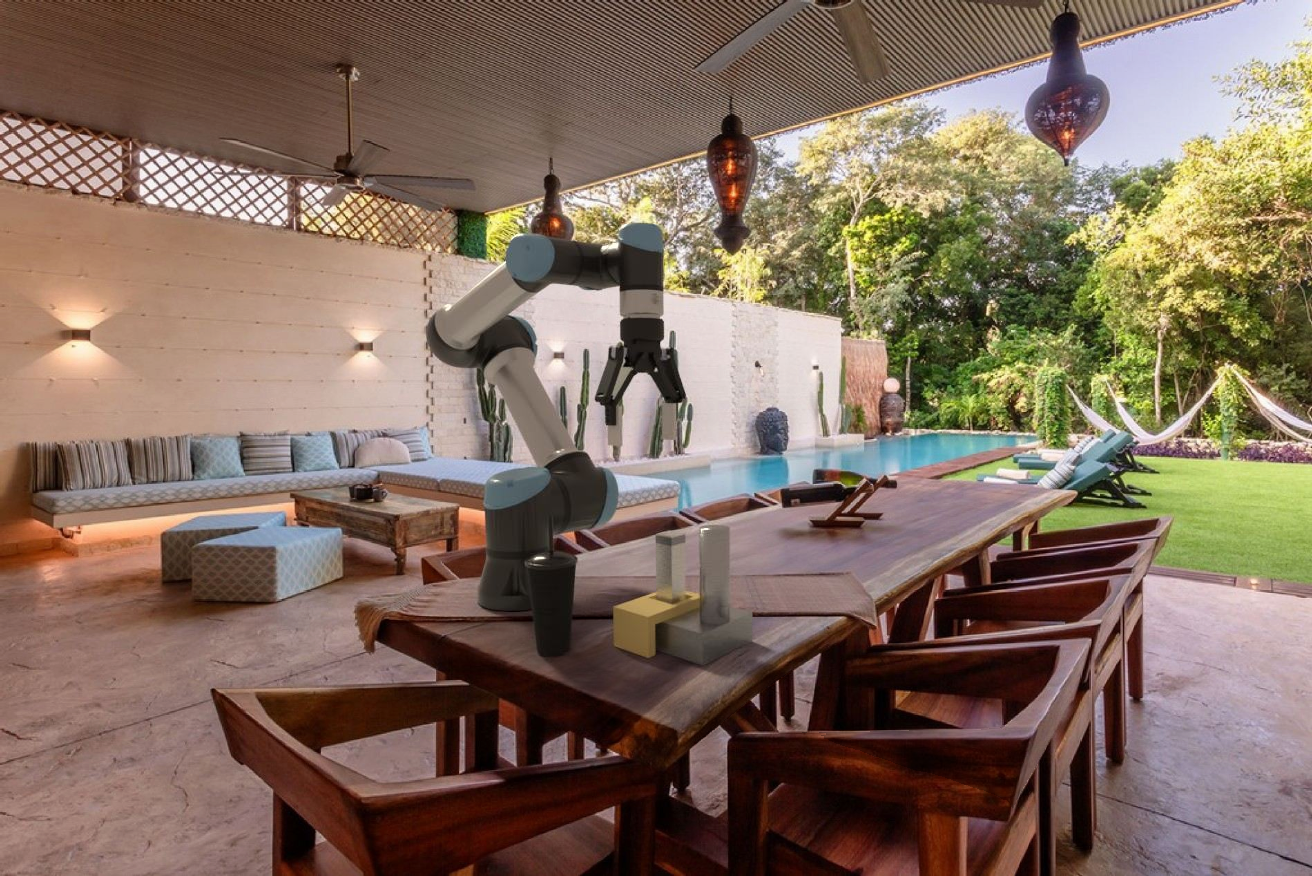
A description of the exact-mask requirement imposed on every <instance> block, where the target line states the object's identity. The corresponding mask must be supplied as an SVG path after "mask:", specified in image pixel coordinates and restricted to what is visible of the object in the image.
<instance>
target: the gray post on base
mask: <svg viewBox="0 0 1312 876" xmlns="http://www.w3.org/2000/svg"><path fill="white" fill-rule="evenodd" d="M698 531H699V532H698V533H699V534H698V535H699V536H698V537H699V539H698V541H699V543H698V545H699V546H698V547H699V550H698V551H699V552H698V553H699V556H698V557H699V558H698V559H699V572H698V573H699V594H700V607H699V608H696V609H694V610H691V611H688V612H686V613H683V614H681V615H678V616H676V617H673V618H671V619H668V620H665V621H663V622H660V623H658V624H655V651H659V652H661V653H664V654H666V655H667V654H668V655H670V656H673V657H677V658H679V659H682V660H685V661H689V662H692V663H694V664H698V665H700V666H704V665H705V666H706V665H707V664H709V663H711V662H714V661H715V660H717V659H719V658H721V657H724V656H725V655H727V654H729V653H731V652H734V651H735V650H738V649H739V648H741V647H743V646H745V645H747V644H749V643H752V642H753V611H749V610H746V609H742V608H738V607H734V606H730V605H731V604H730V603H731V598H730V597H731V594H730V593H731V582H730V581H731V579H730V577H731V573H730V572H731V566H730V563H731V562H730V561H731V553H730V552H731V547H730V544H731V543H730V542H731V541H730V539H731V537H730V536H731V535H730V534H731V530H730V526H727V525H722V524H706V525H701V526H699V527H698Z"/></svg>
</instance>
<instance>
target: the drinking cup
mask: <svg viewBox="0 0 1312 876" xmlns="http://www.w3.org/2000/svg"><path fill="white" fill-rule="evenodd" d="M548 536H549V550H547V551H542V552H539V553H537V554H535V555H533V556H531V557H529V558H527V559H526V560H525V566H527V571H528V580H529V588H530V596H531V605H532V609H531V611H532V619H533V628H534V629H533V630H534V636H535V637H534V638H535V645H536V646H535V647H536V652H537V653H538V655H540V656H542V657H549V658H550V657H559V656H564V655H566V654H568V653H569V652H570V651H571V641H572V626H573V613H574V611H573V610H574V598H575V597H574V596H575V582H576V581H575V580H576V569H577V567H576V566H577V564H578V562H579V559H578V556H577V555H574V554H571V553H570V552H567V551H564V550H558V549H555V548H554V535H553V516H548Z"/></svg>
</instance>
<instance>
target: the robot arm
mask: <svg viewBox="0 0 1312 876" xmlns="http://www.w3.org/2000/svg"><path fill="white" fill-rule="evenodd" d="M663 236H664V235H663V230H662V228H661V227H660V226H659V225H657V224H654V223H650V222H629V223H625V224H622V225H620V227H619V229H618V236H617V241H615V242H611V243H606V244H605V243H604V244H599V243H591V242H585V241H584V242H583V241H579V240H577V241H576V240H572V239H571V240H570V239H566V238H559V237H554V236H548V235H543V234H541V233H540V234H539V233H522V232H521V233H518V234H516V235H514V236H513V237H512V238H511V239H510V240H509V245H507V246H506V250H505V256H504V258H505V261H504V262H503V263H502V264H500V265H499V266H498V267H497V268H495V270H493V271H491V273H488V275H487V276H486V277H485V278H483V279H482V280H481V281H480V282H478V283H477V284H476V285H475V286H474V287H472V288H471V289H470V290H469V291H468V292H467V293H465V294H464V295H463V296H462V297H460V298H459V299H458V300H457V301H455V302H452V303H451V302H450V303H447V304H444V305H442V306H441V307H440V308H439V309H437V310H436V311H435V312H434V313H433V314H432V316H431V317H430V318H429V321H428V323H427V326H426V330H425V337H426V338H425V339H426V341H427V345H428V347H429V349H430V352H431V353H432V354H433V355H434V357H436V358H437V359H438V360H439V361H441V362H442V363H443V364H445V365H447V366H450V367H453V368H458V369H459V368H460V369H479V370H480V371H481V373H482V375H483V377H484V378H485V380H486V381H487V383H489V384H490V385H494V386H496V387H497V388H498V390H499V393H500V395H501V397H502V399H503V401H504V403H505V405H506V407H507V409H508V411H509V413H510V415H511V417H512V419H513V420H514V423H515V424H516V427H517V429H518V431H519V433H520V435H521V437H522V439H523V441H524V442H525V444H526V447H527V449H528V451H529V453H530V455H531V456H532V459H533V461H534V463H535V464H536V466H528V467H523V468H521V467H519V468H518V467H517V468H512V469H507V470H504V471H500V472H497V473H495V474H493V475H491V476H490V477H489V478H488V479H487V480H486V482H485V484H484V493H483V494H484V495H483V501H482V502H483V506H484V524H485V525H484V527H485V528H484V529H485V557H486V558H485V562H484V565H483V569H482V573H481V576H480V579H479V584H478V586H477V591H476V592H477V594H476V595H477V603H478V604H479V606H481V607H483V608H486V609H488V610H494V611H501V612H502V611H504V612H505V611H506V612H510V611H511V612H513V611H514V612H516V611H529V610H532V605H531V596H530V588H529V580H528V571H527V566H525V560H526V559H527V558H529V557H531V556H533V555H535V554H537V553H539V552H542V551H547V550H549V536H548V516H553V536H558V535H562V534H568V533H573V532H574V533H575V532H578V531H579V532H580V531H583V530H585V531H586V530H593V529H595V528H598V527H601V526H604V525H606V524H608V523H609V522H610V521H611V520H612V519H613V517H614V515H615V514H616V512H617V509H618V505H619V498H620V497H619V496H620V495H619V494H620V492H619V485H618V482H617V479H616V477H615V474H614V473H613V471H611V470H610V468H606V467H603V466H601V465H599V466H596V465H595V464H594V462H593V460H592V459H591V457H590V455H589V453H588V452H586V451H585V450H580V449H578V448H577V447H576V444H575V443H574V441H573V438H571V436H570V434H569V432H568V430H567V428H566V426H565V424H564V422H563V421H562V418H561V417H560V415H559V413H558V412H557V410H556V409H557V408H555V406H554V404H553V402H552V400H551V398H550V396H549V395H548V393H547V391H546V389H545V387H544V385H543V383H542V381H541V380H540V378H539V376H538V374H537V372H536V371H535V368H534V366H535V365H536V358H537V354H538V347H539V346H538V344H537V343H536V342H537V341H538V338H537V334H536V333H535V330H534V329H533V327H532V325H531V324H530V323H529V321H527V320H526V319H525V318H522V317H520V316H517V315H510V314H511V313H512V312H514V311H515V310H516V309H518V308H519V307H520V306H522V305H524V304H525V303H526V302H527V301H529V300H530V299H531V298H533V297H534V296H536V295H537V294H538V293H540V292H542V290H544V289H546V288H547V287H549V286H550V285H554V284H555V285H563V286H564V285H567V286H577V287H578V288H580V289H581V290H584V291H596V292H597V291H602V290H606V289H612V288H617V287H619V289H618V290H619V316H620V317H622V319H620V321H619V339H620V341H622V342H623V345H622V344H619V345H617V344H616V345H610V346H608V353H607V354H608V355H607V356H608V357H607V360H606V363H605V367H604V370H603V373H602V375H601V378H600V380H599V381H600V382H599V384H598V387H597V390H596V391H595V396H594V401H595V402H597V403H599V404H600V406H604V424H605V425H606V426H607V446H614V447H615V446H616V447H622V446H623V406H621V405H618V404H619V403H620V402H621V399H622V398H623V396H624V394H625V393H626V390H627V389H628V388H629V386H630V384H631V382H632V380H633V379H634V377H635V376H636V375H637V374H647V375H649V376H650V378H651V379H652V381H653V382H654V384H655V386H656V388H657V389H658V390H659V393H660V394H661V396H662V398H663V399H664V401H665V403H664V402H663V403H661V416H662V417H661V425H662V426H661V431H662V432H661V433H662V437H661V438H662V439H661V440H666V441H667V440H668V441H677V421H678V417H679V416H678V415H679V414H678V412H679V411H678V408H679V407H678V405H679V404H682V403H683V401H684V400H686V397H687V394H686V391H685V387H684V385H683V382H682V378H681V375H680V372H679V369H678V366H677V363H676V360H675V351H674V348H673V347H672V346H670V347H669V346H666V347H665V346H664V347H661V342H662V341H664V339H665V320H664V319H662V318H661V317H662V316H664V311H665V310H664V309H665V308H664V292H665V291H664V260H665V259H664V257H665V249H664V238H663Z"/></svg>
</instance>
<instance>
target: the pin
mask: <svg viewBox="0 0 1312 876" xmlns="http://www.w3.org/2000/svg"><path fill="white" fill-rule="evenodd" d="M655 586H656V587H655V588H656V589H655V590H656V591H655V592H656V600H658V601H662V602H665V603H669V604H675V603H678V602H681V601H683V600H686V591H687V590H686V533H685V532H682V531H681V532H679V531H676V530H666V531H661V532H659V533H655Z"/></svg>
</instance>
